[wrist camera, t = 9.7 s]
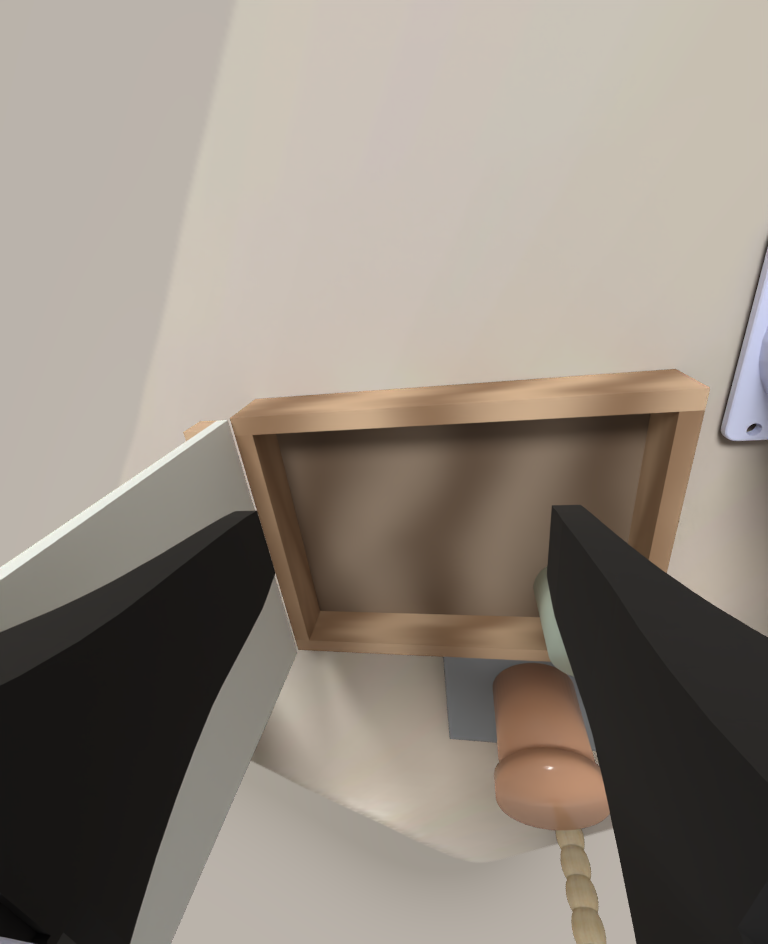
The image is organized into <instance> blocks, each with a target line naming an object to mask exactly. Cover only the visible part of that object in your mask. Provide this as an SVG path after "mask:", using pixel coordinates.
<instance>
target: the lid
mask: <svg viewBox="0 0 768 944" xmlns="http://www.w3.org/2000/svg"><path fill="white" fill-rule="evenodd" d="M183 433H184V436H185V438H186V442H185V443H183V444H182V445H180V446H179V447H177V448H176V449H174V450H173V451H171V452H170V453H168V454H167V455H165V456H164V457H163V458H161V459H160V460H158V461H157V462H155V463H154V464H152V465H151V466H149V467H148V468H146V469H145V470H143V471H142V472H140V473H139V474H137V475H136V476H134V477H133V478H132V479H130V480H129V481H127V482H126V483H124V484H123V485H121V486H120V487H118V488H117V489H115V490H114V491H112V492H111V493H109V494H108V495H107V496H105V497H104V498H102V499H101V500H99V501H98V502H96V503H95V504H93V505H92V506H90V507H89V508H87V509H86V510H84V511H83V512H81V513H80V514H79V515H77V516H76V517H74V518H73V519H71V520H70V521H68V522H67V523H65V524H64V525H62V526H61V527H59V528H58V529H56V530H55V531H53V532H52V533H50V534H49V535H47V536H46V537H45V538H43V539H42V540H40V541H39V542H37V543H36V544H34V545H33V546H31V547H30V548H28V549H27V550H25V551H24V552H22V553H21V554H19V555H18V556H16V557H15V558H14V559H12V560H11V561H9V562H8V563H6V564H5V565H3V566H2V567H0V632H2V631H4V630H7V629H9V628H11V627H14V626H16V625H18V624H21V623H23V622H26V621H28V620H30V619H33V618H35V617H38V616H40V615H42V614H45V613H47V612H49V611H52V610H54V609H56V608H59V607H61V606H63V605H65V604H67V603H69V602H71V601H74V600H76V599H78V598H80V597H82V596H84V595H86V594H88V593H90V592H92V591H94V590H96V589H98V588H100V587H102V586H104V585H106V584H108V583H110V582H112V581H114V580H116V579H117V578H119V577H121V576H123V575H124V574H126V573H128V572H130V571H132V570H133V569H135V568H137V567H139V566H140V565H142V564H144V563H146V562H147V561H149V560H151V559H153V558H155V557H156V556H158V555H160V554H162V553H163V552H165V551H167V550H168V549H170V548H171V547H173V546H175V545H176V544H178V543H180V542H181V541H183V540H185V539H186V538H188V537H190V536H191V535H193V534H195V533H196V532H198V531H200V530H201V529H203V528H205V527H206V526H208V525H210V524H212V523H213V522H215V521H217V520H219V519H220V518H222V517H224V516H226V515H228V514H230V513H232V512H235V511H255V510H254V506H253V503H252V500H251V496H250V493H249V490H248V486H247V483H246V480H245V476H244V473H243V470H242V466H241V463H240V460H239V456H238V453H237V450H236V446H235V443H234V440H233V436H232V433H231V430H230V426H229V423H228V420H219V421H200V422H199V423H197V424H195V425H194V426H192V427H191V428H189V429H188V430H186V431H184V432H183ZM296 655H297V650H296V647H295V643H294V640H293V637H292V633H291V630H290V627H289V623H288V620H287V617H286V613H285V610H284V607H283V603H282V600H281V597H280V593H279V590H278V587H277V583H276V580H275V577H274V579H273V582H272V584H271V587H270V590H269V593H268V596H267V599H266V601H265V604H264V607H263V609H262V611H261V613H260V615H259V617H258V619H257V621H256V623H255V625H254V627H253V629H252V630H251V632H250V634H249V636H248V638H247V640H246V642H245V644H244V646H243V648H242V649H241V651H240V653H239V655H238V657H237V659H236V661H235V663H234V665H233V667H232V668H231V670H230V672H229V674H228V676H227V678H226V680H225V682H224V684H223V685H222V687H221V689H220V691H219V694H218V696H217V698H216V700H215V702H214V704H213V706H212V708H211V711H210V713H209V716H208V718H207V721H206V723H205V725H204V728H203V730H202V733H201V735H200V738H199V740H198V743H197V745H196V747H195V750H194V753H193V755H192V758H191V761H190V763H189V766H188V769H187V771H186V774H185V777H184V779H183V782H182V785H181V787H180V790H179V793H178V795H177V798H176V801H175V804H174V807H173V810H172V813H171V815H170V818H169V821H168V824H167V827H166V830H165V833H164V836H163V839H162V842H161V845H160V848H159V851H158V854H157V856H156V860H155V863H154V866H153V870H152V873H151V876H150V879H149V883H148V886H147V889H146V892H145V896H144V899H143V902H142V905H141V909H140V912H139V915H138V918H137V922H136V925H135V929H134V932H133V936H132V939H131V943H130V944H171V942H172V940H173V938H174V935H175V933H176V931H177V928H178V926H179V924H180V921H181V919H182V917H183V915H184V912H185V910H186V908H187V905H188V903H189V901H190V898H191V896H192V894H193V892H194V889H195V887H196V885H197V882H198V880H199V878H200V875H201V873H202V871H203V869H204V866H205V864H206V862H207V859H208V857H209V855H210V852H211V850H212V848H213V846H214V843H215V841H216V839H217V836H218V834H219V832H220V830H221V827H222V825H223V822H224V820H225V818H226V815H227V813H228V811H229V809H230V806H231V804H232V802H233V800H234V797H235V795H236V793H237V790H238V788H239V786H240V784H241V781H242V779H243V776H244V774H245V772H246V770H247V767H248V765H249V763H250V761H251V758H252V756H253V754H254V751H255V749H256V747H257V744H258V742H259V740H260V738H261V735H262V733H263V731H264V728H265V726H266V724H267V721H268V719H269V717H270V715H271V712H272V710H273V708H274V705H275V703H276V701H277V698H278V696H279V694H280V692H281V689H282V687H283V685H284V682H285V680H286V678H287V675H288V673H289V671H290V669H291V666H292V664H293V662H294V659H295V657H296Z"/></svg>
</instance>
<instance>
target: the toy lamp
mask: <svg viewBox="0 0 768 944" xmlns="http://www.w3.org/2000/svg"><path fill="white" fill-rule="evenodd" d="M556 838H557V841H558V844H559V846H560V848H561V865H562V870H563V872H564V875H565V877H566V878H567V881H566V895H567V900H568V903H569V905H570V908H571V909H572V911H573V913H572V920H571V921H572V930H573V935H574V938H575V940H576V943H577V944H606V935H605V930H604V927H603V923H602V921H601V919H600V917H599V915H598V897H597V893H596V890H595V888H594V886H593V884H592V882H591V881H590V878H591V868H590V863H589V860H588V858H587V855H586V853H585V852H584V836H583V833H582V830H581V829H576V830H556Z"/></svg>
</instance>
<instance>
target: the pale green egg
mask: <svg viewBox="0 0 768 944" xmlns="http://www.w3.org/2000/svg"><path fill="white" fill-rule="evenodd" d="M533 590H534V594H535V599H536V603H537V607H538V612H539V616H540V621H541V625H542V629H543V634H544V638H545V642H546V647H547V651H548V655H549V658H550V661H551V662H552V664H553V665H554V666H555V667H556V668H557V669H559V670H560V671H562V672H564V673H566V674H568V675H571V676H574V675H573V672H572V669H571V666H570V663H569V660H568V656H567V653H566V650H565V647H564V644H563V641H562V638H561V635H560V632H559V629H558V626H557V623H556V619H555V616H554V612H553V607H552V602H551V597H550V591H549V586H548V580H547V567H545V568H544V569H543V570H542V571H541V572H540V573H539V574H538V575H537V577H536V579H535V581H534V586H533Z"/></svg>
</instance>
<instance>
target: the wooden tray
mask: <svg viewBox="0 0 768 944" xmlns="http://www.w3.org/2000/svg"><path fill="white" fill-rule="evenodd" d="M709 391H710V388H709V387H708V386H706V385H704V384H702V383H700V382H698V381H697V380H695V379H693V378H691V377H689V376H688V375H686V374H684V373H682V372H680V371H678V370H677V369H670V370H656V371H642V372H628V373H614V374H600V375H586V376H572V377H558V378H544V379H530V380H516V381H502V382H488V383H474V384H461V385H447V386H433V387H419V388H405V389H391V390H377V391H363V392H349V393H335V394H321V395H307V396H293V397H279V398H265V399H255V400H254V401H252V402H251V403H250V404H248V405H247V406H246V407H244V408H243V409H242V410H240V411H239V412H238V413H236V414H235V415H234V416H232V417H231V418H230V421H231V424H232V427H233V431H234V434H235V437H236V441H237V444H238V448H239V451H240V454H241V458H242V461H243V464H244V468H245V471H246V475H247V478H248V481H249V485H250V488H251V491H252V495H253V498H254V501H255V505H256V508H257V512H258V515H259V518H260V522H261V525H262V528H263V532H264V535H265V539H266V542H267V545H268V549H269V552H270V555H271V559H272V562H273V566H274V569H275V572H276V576H277V579H278V582H279V586H280V589H281V592H282V596H283V599H284V603H285V606H286V609H287V613H288V616H289V619H290V623H291V626H292V630H293V633H294V636H295V640H296V643H297V646H298V650H313V651H334V652H356V653H377V654H398V655H419V656H440V657H462V658H483V659H504V660H525V661H546V662H551V661H550V658H549V655H548V651H547V647H546V642H545V638H544V634H543V629H542V625H541V621H540V616H539V612H538V607H537V603H536V599H535V594H534V590H533V586H534V581H535V579H536V577H537V575H538V574H539V573H540V572H541V571H542V570H543V569H544V568H545V567H547V565H548V551H549V537H550V523H551V510H552V505H582V506H583V507H584V508H586V509H587V510H588V511H589V512H590V513H592V514H593V515H594V516H595V517H596V518H598V519H599V520H600V521H601V522H602V523H603V524H605V525H606V526H607V527H608V528H609V529H611V530H612V531H613V532H614V533H615V534H617V535H618V536H619V537H620V538H621V539H623V540H624V541H625V542H626V543H628V544H629V545H630V546H631V547H633V548H634V549H635V550H636V551H638V552H639V553H640V554H642V555H643V556H644V557H645V558H647V559H648V560H649V561H651V562H652V563H653V564H655V565H656V566H657V567H659V568H660V569H661V570H663V571H664V572H666V573H667V569H668V565H669V561H670V556H671V552H672V548H673V544H674V539H675V535H676V531H677V527H678V522H679V518H680V514H681V510H682V505H683V501H684V497H685V493H686V489H687V484H688V480H689V476H690V472H691V467H692V463H693V459H694V455H695V450H696V446H697V442H698V438H699V433H700V429H701V425H702V421H703V416H704V412H705V408H706V404H707V399H708V395H709Z"/></svg>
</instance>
